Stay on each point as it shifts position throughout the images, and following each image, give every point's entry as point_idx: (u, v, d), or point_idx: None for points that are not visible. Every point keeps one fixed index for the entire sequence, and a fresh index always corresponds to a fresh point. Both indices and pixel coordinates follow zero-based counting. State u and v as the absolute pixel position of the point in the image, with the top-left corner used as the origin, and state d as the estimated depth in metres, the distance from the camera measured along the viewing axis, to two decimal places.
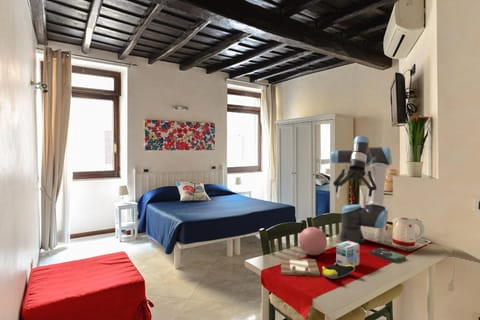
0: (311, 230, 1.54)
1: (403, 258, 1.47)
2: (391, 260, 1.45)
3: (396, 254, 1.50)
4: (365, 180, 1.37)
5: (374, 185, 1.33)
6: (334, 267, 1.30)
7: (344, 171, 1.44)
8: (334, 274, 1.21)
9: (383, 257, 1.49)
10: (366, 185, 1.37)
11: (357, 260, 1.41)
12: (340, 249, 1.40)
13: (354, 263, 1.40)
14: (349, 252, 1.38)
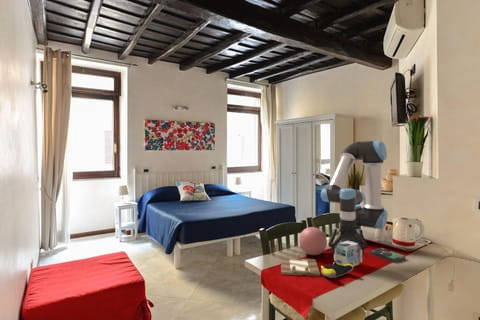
0: (311, 230, 1.54)
1: (403, 258, 1.47)
2: (390, 260, 1.45)
3: (396, 254, 1.50)
4: (358, 240, 1.40)
5: (366, 245, 1.40)
6: (333, 266, 1.31)
7: (336, 231, 1.42)
8: (332, 273, 1.22)
9: (382, 257, 1.49)
10: None
11: (357, 260, 1.41)
12: (340, 249, 1.40)
13: (354, 263, 1.40)
14: (349, 252, 1.38)
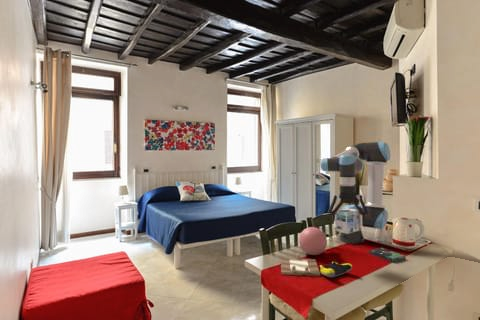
0: (311, 230, 1.54)
1: (403, 258, 1.47)
2: (390, 260, 1.45)
3: (396, 254, 1.50)
4: (358, 206, 1.40)
5: (366, 211, 1.39)
6: (332, 266, 1.32)
7: (336, 197, 1.42)
8: (331, 273, 1.23)
9: (382, 257, 1.49)
10: (357, 209, 1.41)
11: (357, 226, 1.41)
12: (340, 215, 1.39)
13: (354, 229, 1.40)
14: (349, 218, 1.38)
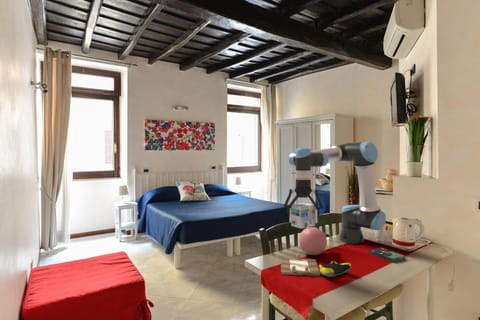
0: (311, 230, 1.54)
1: (402, 258, 1.47)
2: (389, 260, 1.45)
3: (396, 254, 1.50)
4: (313, 200, 1.37)
5: (321, 205, 1.36)
6: (331, 266, 1.32)
7: (291, 191, 1.38)
8: (331, 272, 1.23)
9: (382, 257, 1.49)
10: None
11: (312, 221, 1.38)
12: (294, 209, 1.36)
13: (309, 224, 1.36)
14: (304, 212, 1.34)
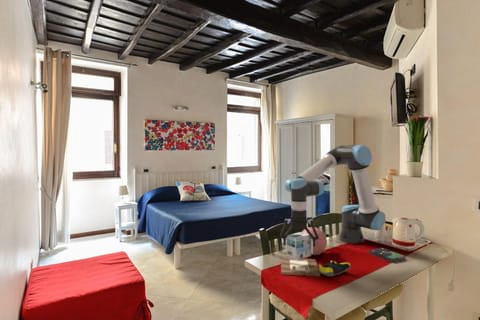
0: (311, 230, 1.54)
1: (402, 258, 1.47)
2: (389, 260, 1.45)
3: (396, 254, 1.50)
4: (308, 231, 1.37)
5: (317, 236, 1.36)
6: (330, 265, 1.33)
7: None
8: (330, 272, 1.24)
9: (382, 257, 1.49)
10: (309, 234, 1.38)
11: (308, 251, 1.38)
12: (290, 240, 1.36)
13: (305, 254, 1.36)
14: (299, 243, 1.34)
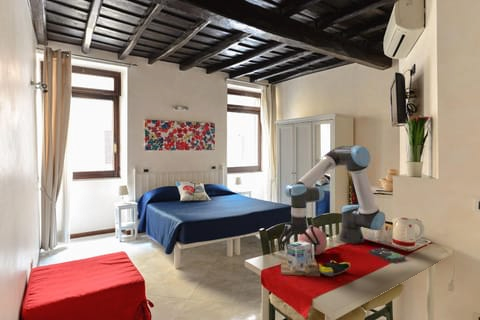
0: None
1: (402, 258, 1.47)
2: (389, 260, 1.45)
3: (396, 254, 1.50)
4: (309, 237, 1.37)
5: (318, 242, 1.36)
6: (330, 265, 1.33)
7: None
8: (330, 271, 1.24)
9: (381, 257, 1.50)
10: (310, 240, 1.38)
11: (308, 260, 1.38)
12: (290, 249, 1.36)
13: (305, 263, 1.36)
14: (299, 253, 1.34)
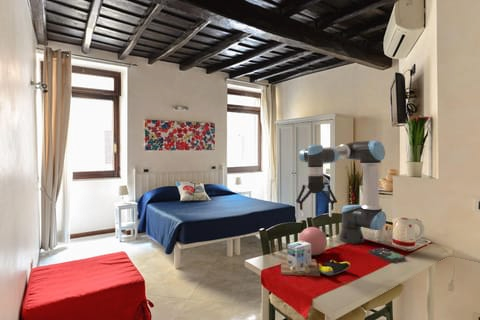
0: (311, 230, 1.54)
1: (402, 258, 1.47)
2: (388, 260, 1.45)
3: (395, 254, 1.50)
4: (326, 195, 1.40)
5: (335, 200, 1.40)
6: (330, 264, 1.34)
7: (304, 187, 1.42)
8: (330, 271, 1.25)
9: (381, 257, 1.50)
10: (327, 198, 1.42)
11: (308, 260, 1.38)
12: (290, 249, 1.36)
13: (305, 263, 1.36)
14: (299, 253, 1.34)
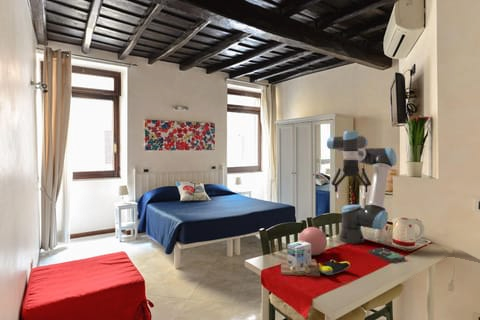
0: (311, 230, 1.54)
1: (402, 259, 1.47)
2: (388, 260, 1.45)
3: (395, 254, 1.50)
4: (361, 178, 1.49)
5: (369, 182, 1.48)
6: (330, 264, 1.34)
7: (340, 170, 1.51)
8: (329, 270, 1.25)
9: (381, 256, 1.50)
10: (361, 181, 1.50)
11: (308, 260, 1.38)
12: (290, 249, 1.36)
13: (305, 263, 1.36)
14: (299, 253, 1.34)
